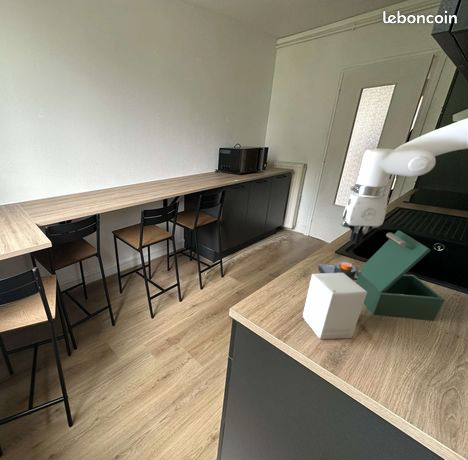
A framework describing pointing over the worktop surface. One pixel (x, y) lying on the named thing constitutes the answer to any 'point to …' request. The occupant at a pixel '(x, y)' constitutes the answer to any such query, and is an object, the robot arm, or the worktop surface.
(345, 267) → the button
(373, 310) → the green lidded box
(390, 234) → the green box lid
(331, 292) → the white product box
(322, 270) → the control block
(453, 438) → the worktop surface
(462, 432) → the worktop surface
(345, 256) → the worktop surface
